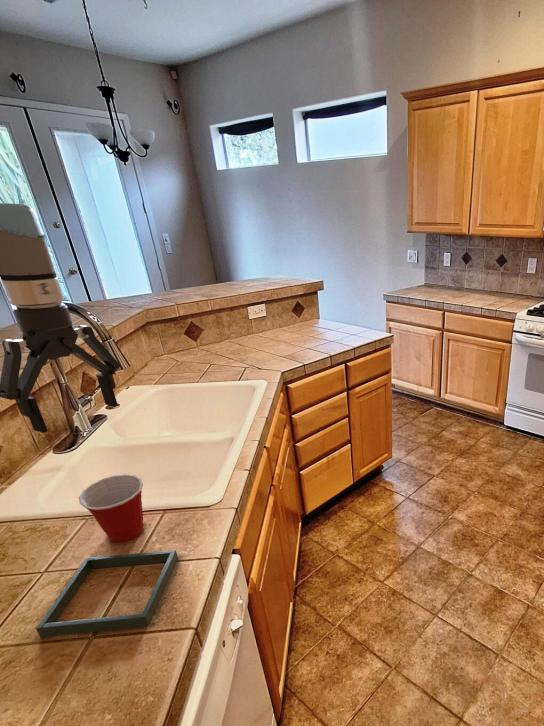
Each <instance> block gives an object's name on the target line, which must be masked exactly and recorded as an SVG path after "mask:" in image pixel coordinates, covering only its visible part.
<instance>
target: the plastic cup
mask: <svg viewBox="0 0 544 726" xmlns="http://www.w3.org/2000/svg"><path fill="white" fill-rule="evenodd" d="M143 487H144V483H143V480H142V478H140V477H139V476H137V475H135V474H128V473H127V474H126V473H123V474H122V473H121V474H114V475H110V476H106V477H104V478H100V479H99V480H97V481H95V482H93V483H91V484H90V485H88V486H87V487H86V488H84V489H83V490H82V492H81V493H80V495H79V496H78V503H79V505H80V506H82V507H83V508H85V509H86V510H87V511H89V513H90V514H91V515H92V516H93V518H94V519H95V521H96V522H97V524H98V525H99V527H100V528H101V530H102V531H103V532H104V533H105V535H106V536H107V538H108V539H109V541H111V542H114V543H124V542H128V541H131V540H134V539H135V538H137V537H138V536H140V535H141V534H142V533H143V531H144V514H143V503H142V497H143V496H142V489H143Z"/></svg>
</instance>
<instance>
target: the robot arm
mask: <svg viewBox="0 0 544 726" xmlns="http://www.w3.org/2000/svg"><path fill="white" fill-rule="evenodd" d="M0 280H1V283H2V286H3V289H4V291H5V294H6V296H7V299H8V302H9V304H10V305H12V306H15V307H14V308H13V310H12V313H13V315H14V318H15V320H16V323H17V326H18V329H19V330H20V332H21V334H22V338H21V339H13V340H12V339H3V340H2V341H1V346H2V348H3V349H2V350H3V353H4V356H3V360H2V361H3V362H2V368H1V375H0V398H1V399H6V400H10V401H12V400H15V402H16V404H17V408H18V409H19V412H20V415H22V416H23V417H25V418H28V420H29V421H30V424H31V426H32V429H33V431H35V432H39V433H42V434H45V433H47V432H48V431H49V430H48V428H47V425H46V423H45V420H44V417H43V415H42V412H41V410H40V407H39V405H38V402H37V399H36V397H33V396H30V395H31V393H32V391H33V389H34V386H35V384H36V382H37V380H38V378H39V376H40V373H41V372H42V369H43V367H44V366H45V365H46V364H47V363H48V361H49V360H50V361H55V360H58V359H59V358H63V357H64V358H67V357H70V356H71V355H73V356H74V357H76V358H77V359H79V360H80V361H82V362H83V363H85V364H87V365H88V366H90V367H92V368H93V369H94V370H96V371H98V372H99V373H98V374H96V378H97V382H98V385H99V389H100V391H101V395H102V397H103V401H104V404H105V405H106V406H110V407H114V408H115V407H118V406H119V405H118V401H117V398H116V394H115V389H117V388H116V387H117V386H116V382H115V379H114V375H115V374H116V370H119V369H120V368H121V364H120V363H119V362H118V361H117V359H116V358H115V357H114V356H113V355H112V353H110V352H109V350H108V349H107V347H105V346H104V345H103V344H102V342H101V341H100V340H99V339H98V338H97V336H96V334H95V332H94V329H93V328H92V327H91V326H88V325H82V324H80V325H78V326H77V328H74V327H73V321H72V317H71V315H70V310H69V307H68V305H66V304H65V303H62V302H64V301H65V296H64V294H63V290H62V287H61V284H60V281H59V278H58V275H57V273H56V270H55V267H54V263H53V259H52V257H51V254H50V251H49V246H48V244H47V239H46V234H45V232H44V231H43V228H42V226H41V223H40V220H39V218H38V215H37V213H36V211H35V210H34V208H32V206H30V205H28V204H23V203H11V202H10V203H9V202H7V203H6V202H0ZM78 338H79V339H82V341H83V342H84V344H86V345H87V347H89V349H90V350H91V351H92V352H93V353H94V354H95V355H96V356H97V357H98V358H99V359H98V358H96V357H95V356H94V355H91V354H90V353H89V352H87V351H86V350H85V349H84V348H83V347H81V346H80V345H78V344H77V340H78ZM25 348H27V349H28V350H29V353H28V354H27V357H26V363H25V365H24V366H23V369H22V371H21V366H22V365H21V364H22V357H23V355H22V353H24V351H25ZM100 360H101V361H100ZM20 371H21V373H20Z"/></svg>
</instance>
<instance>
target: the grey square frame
mask: <svg viewBox="0 0 544 726" xmlns="http://www.w3.org/2000/svg"><path fill="white" fill-rule="evenodd" d="M178 560H179V556H178V553H177V550H176V549H175V550H174V549H173V550H165V551H164V550H162V551H151V552H149V551H148V552H139V553H138V552H137V553H126V554H116V555H115V554H114V555H102V556H92V557H86V558H85V559H84V560H83V561H82V563H81V564H80V566H79V567H78V568H77V570H76V572H75V573H74V574H73V576H72V577H71V579H70V580H69V581H68V582H67V584H66V585H65V587H64V589H63V590H62V591H61V592H60V594H59V595H58V597H57V598H56V599H55V601H54V602H53V604H52V605H51V607H50V608H49V609H48V610H47V612H46V613H45V615H44V616H43V618H42V619H41V620H40V622H39V624H38V625H36V628H35V630H36V631H37V634H38V635H39V637H40V638H50V637H51V638H52V637H60V636H68V635H77V634H78V635H79V634H88V633H98V632H106V631H115V630H125V629H126V630H127V629H134V628H143V627H150V624H151V621H152V619H153V617H154V615H155V613H156V610H157V608H158V606H159V603H160V601H161V600H162V599H161V598H162V596H163V594H164V593H165V590H166V588H167V585H168V583H169V581H170V578H171V576H172V574H173V572H174V569H175V567H176V565H177V563H178ZM163 563H165V564H164V566H163V568H162V570H161V572H160V574H159V576H158V579H157V581H156V583H155V585H154V587H153V589H152V591H151V594H150V596H149V598H148V599H147V602H146V604H145V607H144V608H143V611H142V613H135V614H127V615H126V614H124V615H117V616H105V617H98V618H96V617H95V618H87V619H77V620H76V619H75V620H69V621H59V622H58V620H59V619H60V617H61V616H62V615H63V613H64V612H65V610H66V609H67V607H68V606H69V604H70V602H71V601H72V600H73V598H74V597H75V595H76V594H77V592H78V591H79V589H80V588H81V586H82V584H83V583H84V582H85V580H86V578H87V577H88V576H89V574H90V573H91V572H92V570H93V569H105V568H116V567H118V568H119V567H126V566H129V567H130V566H139V565H152V564H163Z"/></svg>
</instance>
